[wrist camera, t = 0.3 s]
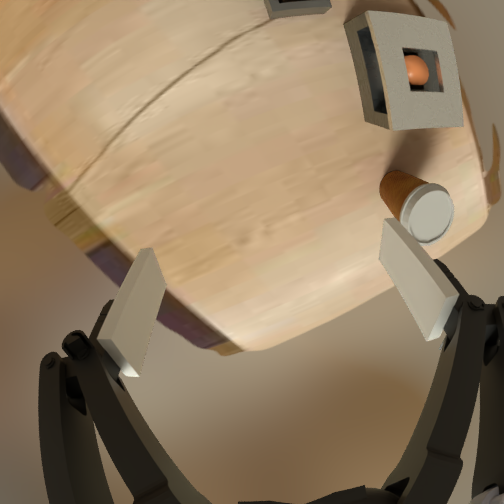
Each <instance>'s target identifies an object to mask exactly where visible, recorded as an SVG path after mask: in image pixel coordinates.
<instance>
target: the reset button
mask: <svg viewBox="0 0 504 504" xmlns="http://www.w3.org/2000/svg"><path fill="white" fill-rule="evenodd" d="M404 59H405V64H406V69H407V74H408V79H409V85H423V84H425V83H426V82H427V80H428V77H429V71H428V67H427V65H426V63H425V62H424V61H423V60H422V59H421V58H420V57H418V56H415V55H409V56H404Z"/></svg>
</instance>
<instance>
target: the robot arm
mask: <svg viewBox="0 0 504 504" xmlns="http://www.w3.org/2000/svg"><path fill="white" fill-rule="evenodd" d="M379 260H380V262H381V263H382V265H383V266H384V268H385V269H386V271H387V273H388V274H389V276H390V277H391V279H392V281H393V282H394V284H395V286H396V287H397V289H398V291H399V292H400V294H401V296H402V298H403V299H404V301H405V303H406V304H407V306H408V307H409V310H410V311H411V313H412V315H413V317H414V319H415V321H416V322H417V324H418V326H419V328H420V330H421V332H422V334H423V335H424V338H425V340H426V341H430V340H433V339H436V338H439V337H440V335H441V333H442V331H443V329H444V331H445V332H446V334H447V335H446V337H445V339H444V341H443V342H442V344H441V346H440V348H439V350H441V348H442V351H441V355H440V358H439V363H438V366H437V369H436V373H435V376H434V379H433V383H432V386H431V388H430V392H429V394H428V397H427V400H426V403H425V406H424V408H423V411H422V413H421V416H420V418H419V421H418V423H417V426H416V428H415V430H414V433H413V435H412V437H411V439H410V442H409V444H408V446H407V448H406V450H405V452H404V454H403V456H402V458H401V460H400V462H399V463H398V465H397V467H396V468H395V469H394V470H393V472H392V473H391V474H390V475H389V477H388V478H387V480H386V482H385V483H384V485H383V486H382V488H381V489H377V488H365V485H363V486H360V487H356V488H352V489H347V490H343V491H338V492H334V493H332V494H330V495H328V496H325V497H323V498H320V499H317V500H315V501H312V502H309V503H307V504H447V502H448V500H449V498H450V496H451V494H452V492H453V489H454V487H455V485H456V482H457V480H458V478H459V475H460V473H461V470H462V467H463V461H462V460H461V458H460V454H461V451H462V448H463V445H464V442H465V439H466V436H467V432H468V429H469V426H470V422H471V418H472V414H473V411H474V406H475V402H476V397H477V393H478V388H479V382H480V423H479V438H478V448H477V457H476V464H475V470H474V476H473V483H472V500H471V501H470V503H469V504H504V296H501V297H499V298H498V300H497V302H496V304H485V303H484V301H483V300H482V299H481V298H479V297H477V296H475V295H468V293H467V292H466V291H465V289H464V288H463V287H462V285H461V284H460V283H459V281H458V280H457V279H456V278H455V277H454V275H453V274H452V273H451V272H450V270H449V269H448V268H447V266H446V265H445V264H443V263H442V262H441V261H439V260H438V259H434V260H432V258H431V257H430V256H429V255H428V254H427V252H426V251H425V250H424V249H423V248H422V247H421V245H420V244H419V243H418V242H417V241H416V240H415V239H414V237H413V236H412V235H411V234H410V233H409V232H408V231H407V230H406V229H405V228H404V226H403V225H402V224H401V223H400V222H399V221H398V220H397V219H396V218H387V219H384V223H383V231H382V239H381V246H380V253H379ZM166 286H167V284H166V282H165V279H164V277H163V274H162V272H161V269H160V267H159V264H158V261H157V259H156V256H155V253H154V251H153V248H152V247H151V248H145V249H140V251H139V253H138V255H137V257H136V259H135V260H134V262H133V264H132V266H131V268H130V270H129V272H128V274H127V276H126V278H125V279H124V281H123V283H122V285H121V287H120V289H119V291H118V294H117V296H116V298H115V299H114V300H109V302H108V303H107V304H106V305H105V306H104V307H103V309H102V311H101V313H100V316H99V317H98V319H97V322H96V323H95V326H94V328H93V330H92V332H91V335H90V337H89V339H88V338H87V336H86V335H85V333H84V332H83V331H81V330H75V331H73V332H71V333H69V334H68V335H67V336H66V338H65V339H64V340H63V343H62V349H63V350H64V351H65V353H66V354H67V355H68V357H65V358H61V357H60V356H59V355H58V353H56V352H50V353H48V354H47V355H46V356H44V358H43V359H42V361H41V364H40V374H39V375H40V376H39V397H38V398H39V400H38V404H39V405H38V409H39V410H38V412H39V437H40V448H41V458H42V466H43V472H44V478H45V485H46V489H47V495H48V499H49V504H114V502H113V499H112V496H111V493H110V490H109V487H108V483H107V480H106V476H105V473H104V469H103V465H102V462H101V457H100V453H99V448H98V444H97V439H96V434H95V429H94V423H95V426H96V428H97V430H98V432H99V435H100V436H101V439H102V441H103V443H104V445H105V447H106V449H107V451H108V453H109V455H110V457H111V459H112V461H113V463H114V464H115V466H116V468H117V470H118V472H119V473H120V475H121V477H122V479H123V480H124V482H125V484H126V485H127V487H128V488H129V490H130V492H131V493H132V495H133V497H134V502H133V504H212V503H211V502H210V501H209V500H207V499H206V498H205V497H204V496H203V495H202V494H200V493H199V492H198V491H197V490H196V489H195V488H194V487H193V486H192V485H191V483H190V482H189V481H188V480H187V479H186V477H185V476H184V475H183V474H182V472H181V471H180V470H179V469H178V467H177V466H176V465H175V463H174V462H173V461H172V459H171V458H170V457H169V455H168V454H167V453H166V451H165V450H164V449H163V447H162V446H161V444H160V443H159V441H158V440H157V438H156V437H155V435H154V434H153V432H152V431H151V429H150V428H149V426H148V425H147V423H146V421H145V420H144V418H143V417H142V415H141V413H140V412H139V410H138V408H137V407H136V405H135V403H134V402H133V400H132V398H131V396H130V395H129V393H128V391H127V389H126V387H125V385H124V383H123V382H122V380H121V378H120V377H119V376H118V374H119V372H120V369H121V371H122V372H123V373H124V374H125V375H126V376H135V377H139V376H140V374H141V370H142V366H143V362H144V359H145V355H146V351H147V347H148V344H149V340H150V337H151V334H152V330H153V327H154V323H155V320H156V317H157V314H158V310H159V307H160V304H161V301H162V298H163V295H164V292H165V289H166ZM93 421H94V423H93ZM238 504H290V503H281V502H274V501H254V502H238Z"/></svg>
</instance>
